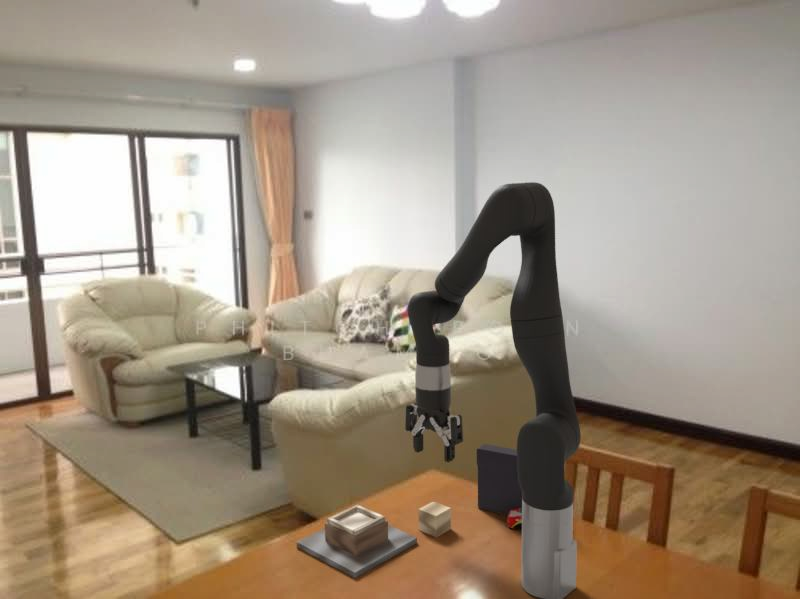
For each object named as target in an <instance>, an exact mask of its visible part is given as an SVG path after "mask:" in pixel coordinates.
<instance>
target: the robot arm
mask: <svg viewBox="0 0 800 599" xmlns="http://www.w3.org/2000/svg"><path fill="white" fill-rule="evenodd" d="M554 204H555V203H554V200H553V197H552V195H551V193H550V190H548V188H547V187H546V186H545V185H544V184H542V183H539V182H535V181H531V182H517V183H514V182H513V183H505V184H503V185H499V186H498V187H497V188H495V189H494V190H493V191H492V193H491V194H490V195H489V197H488V198H487V200H486V201H485V203H484V205H483V207H482V208H481V209H480V212H479V214H478V216H477V218H476V220H474V223H473V225H472V227H471V228H470V229H469V232H468V233H467V236H466V237H465V239H464V241H463V242H462V244H461V246H460V247H459V249H458V250H457V251H456V253H455V254H454V255H453V257H451V259H450V260H449V261H448V262H447V264H446V265H444V267H443V268H442V270H441V271H440V272H439V273H438V275H437V276H436V278H435V280H434V288H435V290H429V291H428V290H427V291H421V292H416V293H414V294H413V295H412V296H411V298H410V299H409V301H408V305H407V317H408V320H409V324H410V327H411V331H412V334H413V335H412V336H413V338H414V341H415V346H416V349H415V350H416V351H415V353H416V354H415V357H416V359H415V361H416V363H415V386H414V387H415V402H414V403H410V404H408V405H406V406H405V425H404V426H405V429H404V430H405V431H407V432H410V433H411V435H412V444H413V445H412V447H413V449H414V452H415V453H421V452H423V451H424V433H423V432H424V430H430V431H432V432H435V433H436V434H437V435H438V437H439V438H441V439H442V441H443V443H444V450H443V451H444V462H446V463H450V462H452V461H453V460H454V459H455V458H456V445H459V444H460V443H463V441H464V432H463V417H462V415H461V414H457V415H453V414H451V412H450V407H451V403H452V398H451V396H452V392H451V391H452V387H451V386H452V383H451V382H452V379H451V378H452V373H451V368H450V366H451V365H450V341H449V339H448V337H447V336H445V334H444V335H443V334H440V333H439V334H438V333H436V332H435V330H434V329H435V328H434V325H437V324H438V325H439V324H443V323H447V322H449V321H451V320H453V319H454V318H455V317H456V316H457V315H458V313H459V312H460V309H461V307H462V305H463V303H464V300H465V298H466V296H467V295H468V294H469V293H470V292H471V291H472V290H473V289H474V288H475V287H476V286H477V284H479V282H480V281H481V279H482V278H483V276H484V274H485V273H486V269H487V267H488V266H487V265H488V261H489V257H490V255H491V254H492V253H493V251H494V250H495V249H496V248H497V247H498V246H499V245H500V244H502V243H503V242H504V241H506V239H508V238H510V237H518V236H519V240H520V251H521V263H520V264H521V265H520V270H519V275H518V277H517V281H516V284H515V286H514V289H513V293H512V296H511V300H510V301H511V302H510V306H509V307H510V308H509V315H510V316H509V317H510V325H511V335H512V341H513V344H514V348H515V350H516V352H517V355H518V358H519V359H520V361H521V362H522V365H523V367H524V369H525V371H526V372H527V374H528V376H529V377H530V379H531V380H530V381H531V382H532V383H531V384H532V386H533V390H534V398H535V410H536V412H535V414H536V416H535V417H534V418H532V419H530V420H528V421H527V422H526V423H524V424H523V425H522V427H521V428H520V429H519V432H518V434H517V435H518V436H517V439H516V450H517V469H518V482H519V485H520V488H521V490H522V531H521V579H520V581H521V583H520V584H521V587H522V588H523V590H524V591H525V592H526V593H528V594H530V596H533V597H536V598H539V599H565V597H567V596H568V595H569V594H570V593H572V592H573V591H574V590H575V589H577V565H578V564H577V563H578V562H577V560H578V558H577V556H578V554H577V553H578V541H577V540H576V539H574V538H573V532H574V531H573V530H574V529H573V528H574V519H573V518H574V487H573V486H572V484H571V482H569V481H567V480H566V478H565V476H566V475H565V466H566V465H565V461H567V460H568V459H570V458H571V457H572V456H574V455H575V454H576V452H577V451H578V450H579V448H580V444H581V440H582V435H581V427H580V422H579V418H578V414H577V413H578V412H577V410H576V405H575V401H574V396H573V391H572V387H571V386H572V385H571V382H570V380H571V379H570V373H569V364H568V355H567V349H566V346H567V345H566V339H565V338H566V337H565V327H564V326H565V324H564V318H563V310H562V306H561V299H560V288H559V278H558V268H557V258H556V257H557V256H556V215H555V205H554ZM418 418H419V419H418ZM444 429H445V430H444Z"/></svg>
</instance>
